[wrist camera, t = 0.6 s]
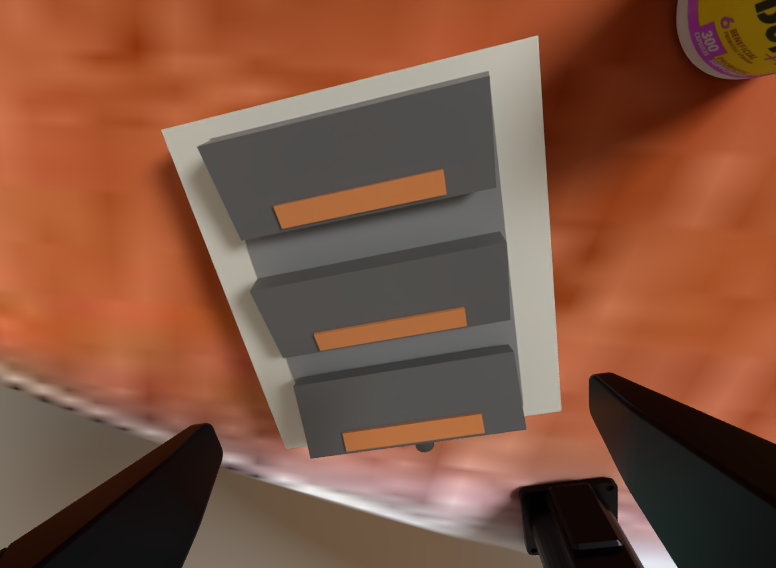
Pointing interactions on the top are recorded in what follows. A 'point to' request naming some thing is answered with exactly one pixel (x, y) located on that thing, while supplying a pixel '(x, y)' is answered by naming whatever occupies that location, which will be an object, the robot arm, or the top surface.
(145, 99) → the top surface
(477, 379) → the rocker
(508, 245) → the light switch panel
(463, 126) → the rocker
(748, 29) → the supplement bottle
